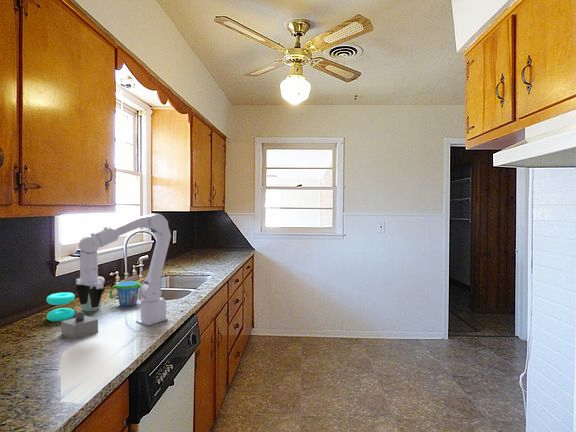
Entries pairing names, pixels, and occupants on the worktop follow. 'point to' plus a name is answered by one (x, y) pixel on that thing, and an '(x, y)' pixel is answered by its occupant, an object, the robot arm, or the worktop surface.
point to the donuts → (61, 312)
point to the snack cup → (127, 292)
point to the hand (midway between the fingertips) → (89, 305)
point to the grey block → (79, 326)
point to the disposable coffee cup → (88, 305)
